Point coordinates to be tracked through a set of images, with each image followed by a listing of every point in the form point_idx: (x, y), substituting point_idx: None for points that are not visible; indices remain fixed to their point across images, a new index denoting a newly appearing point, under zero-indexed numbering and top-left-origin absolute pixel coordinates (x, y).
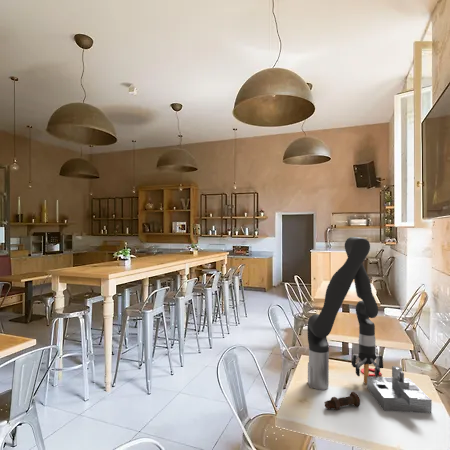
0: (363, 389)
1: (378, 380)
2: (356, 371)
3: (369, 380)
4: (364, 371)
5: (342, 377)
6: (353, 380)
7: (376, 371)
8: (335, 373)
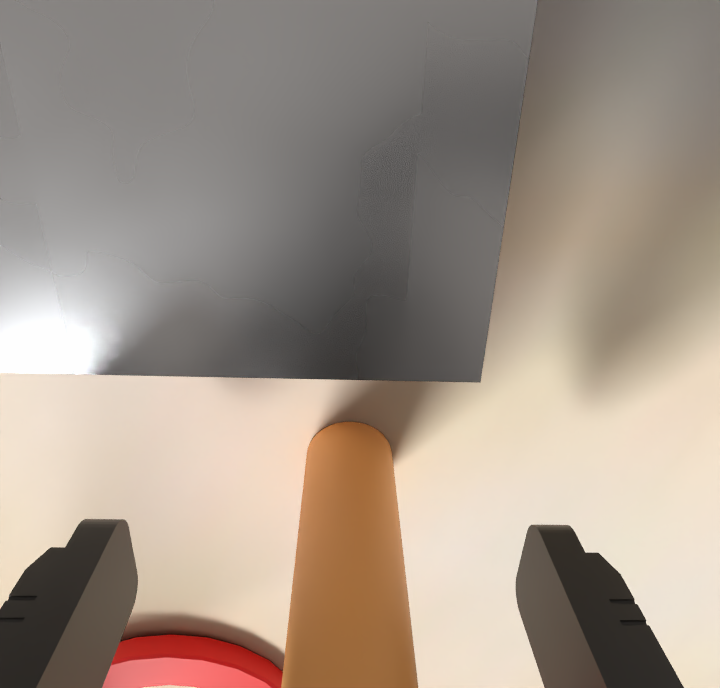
0: (538, 181)
1: (134, 17)
2: (652, 634)
3: (506, 122)
4: (411, 648)
5: (682, 580)
6: (549, 507)
7: (52, 647)
8: (714, 669)
